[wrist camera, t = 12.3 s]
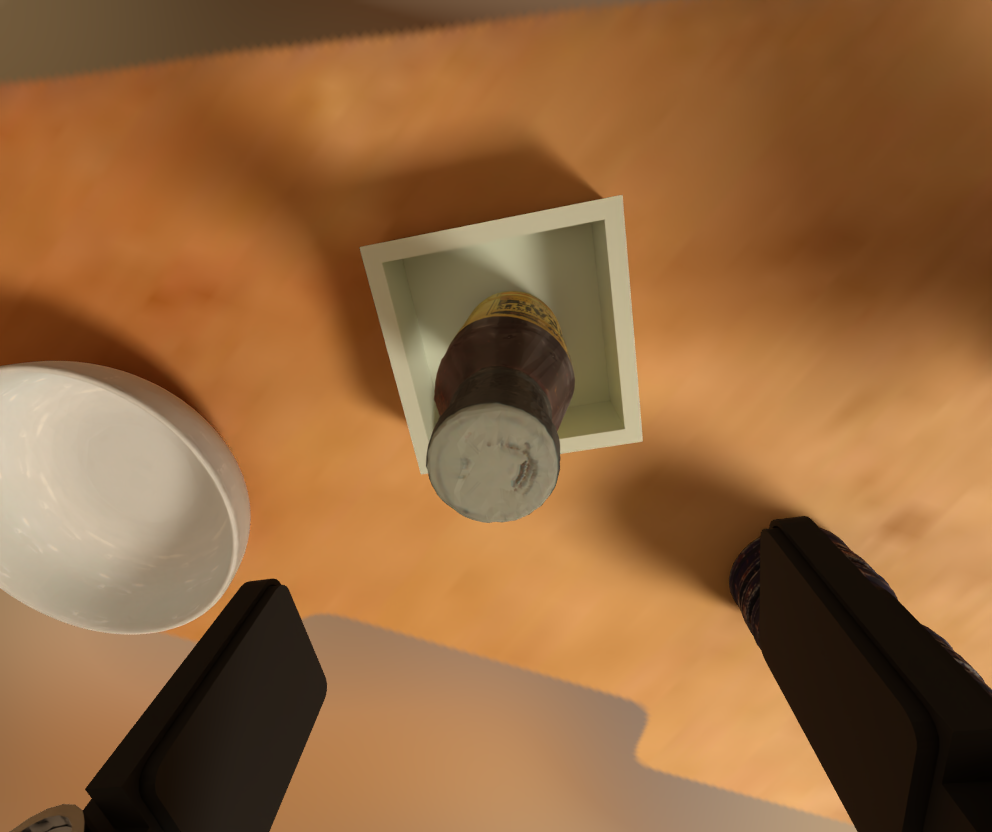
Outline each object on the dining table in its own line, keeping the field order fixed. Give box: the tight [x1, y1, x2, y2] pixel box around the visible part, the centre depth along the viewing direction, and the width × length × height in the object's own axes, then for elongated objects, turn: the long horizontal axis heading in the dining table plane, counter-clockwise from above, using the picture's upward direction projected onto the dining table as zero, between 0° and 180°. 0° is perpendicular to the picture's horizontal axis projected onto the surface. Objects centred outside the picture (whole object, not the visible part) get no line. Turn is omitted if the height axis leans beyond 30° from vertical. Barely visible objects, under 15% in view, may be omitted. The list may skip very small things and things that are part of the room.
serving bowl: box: [0, 361, 250, 634], centre depth 36 cm, size 21×21×7 cm
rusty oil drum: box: [729, 528, 992, 697], centre depth 34 cm, size 10×10×15 cm
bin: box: [359, 195, 643, 474], centre depth 31 cm, size 14×14×6 cm
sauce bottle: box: [426, 291, 575, 523], centre depth 24 cm, size 6×6×20 cm
